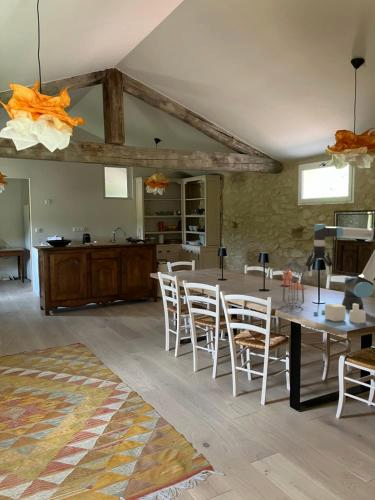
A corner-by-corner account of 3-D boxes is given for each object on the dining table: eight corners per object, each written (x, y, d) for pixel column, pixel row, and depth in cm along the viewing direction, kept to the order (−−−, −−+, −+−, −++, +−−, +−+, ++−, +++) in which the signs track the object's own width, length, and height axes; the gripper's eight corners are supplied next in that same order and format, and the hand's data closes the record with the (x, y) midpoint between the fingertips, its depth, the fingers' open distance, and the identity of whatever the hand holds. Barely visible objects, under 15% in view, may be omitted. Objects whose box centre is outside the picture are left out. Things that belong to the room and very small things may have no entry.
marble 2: (326, 309, 274) (322, 308, 274) (326, 313, 272) (322, 312, 272) (324, 311, 277) (320, 311, 277) (325, 315, 275) (321, 314, 275)
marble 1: (318, 310, 271) (319, 314, 270) (314, 310, 273) (316, 315, 273) (315, 311, 269) (316, 316, 269) (312, 312, 271) (313, 316, 271)
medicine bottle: (356, 320, 258) (357, 302, 257) (365, 322, 252) (366, 304, 251) (348, 321, 256) (349, 303, 255) (357, 323, 249) (357, 305, 248)
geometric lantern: (289, 310, 287) (290, 263, 285) (278, 306, 302) (279, 261, 300) (308, 309, 291) (309, 262, 289) (296, 304, 306) (297, 260, 304)
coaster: (338, 318, 264) (338, 316, 264) (347, 321, 254) (347, 320, 254) (324, 318, 261) (324, 317, 261) (333, 322, 252) (333, 321, 252)
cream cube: (335, 316, 264) (336, 303, 263) (345, 319, 256) (345, 306, 255) (324, 317, 261) (325, 304, 260) (334, 321, 253) (334, 307, 252)
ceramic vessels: (313, 291, 364) (313, 271, 363) (293, 292, 359) (293, 272, 357) (294, 285, 398) (294, 267, 397) (275, 286, 393) (275, 268, 391)
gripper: (332, 245, 283) (331, 274, 285) (300, 245, 278) (300, 275, 279) (338, 245, 276) (337, 275, 277) (306, 246, 270) (305, 276, 272)
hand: (318, 275), depth 278 cm, fingers open, 13 cm apart
